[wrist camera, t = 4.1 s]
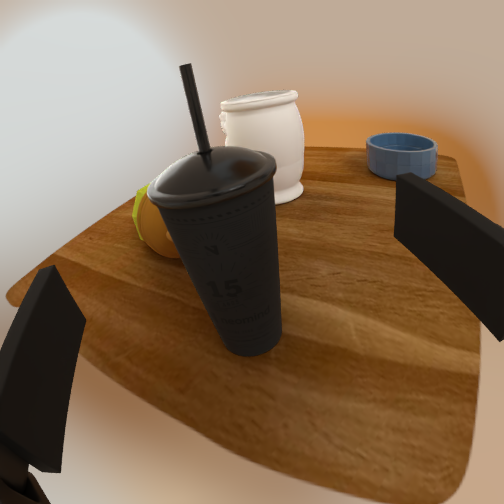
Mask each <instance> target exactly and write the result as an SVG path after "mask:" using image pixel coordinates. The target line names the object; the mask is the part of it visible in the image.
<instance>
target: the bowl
mask: <svg viewBox="0 0 504 504" xmlns="http://www.w3.org/2000/svg"><path fill="white" fill-rule="evenodd" d="M366 149H367V166H368V168H369V169H370V170H371V171H372V172H373V173H374V174H376V175H378V176H380V177H383V178H386V179H390V180H395V181H396V175H399V174H404V173H410V172H412V173H414V174H415V175H417V176H419V177H421V178H423V179H424V180H425V179H428V178H430V177H431V176H432V175H434V174H435V173H436V171H437V155H438V153H437V152H438V145H437V143H436V142H435V141H434V140H432V139H430V138H427V137H424V136H420V135H415V134H409V133H382V134H377V135H373V136H370V137H369V138H367V140H366Z"/></svg>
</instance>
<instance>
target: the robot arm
mask: <svg viewBox="0 0 504 504" xmlns="http://www.w3.org/2000/svg"><path fill="white" fill-rule="evenodd" d="M394 237H395V238H396V239H397V240H398V241H400V242H401V243H402V244H403V245H404V246H405V247H406V248H407V249H408V250H410V251H411V252H412V253H413V254H414V255H415V256H416V257H417V258H418V259H419V260H420V261H421V262H423V263H424V264H425V265H426V266H427V267H428V268H429V269H430V270H431V271H432V272H433V273H434V274H435V275H436V276H437V277H438V278H439V279H440V280H441V281H442V282H443V283H444V284H445V285H446V286H447V287H448V288H449V289H450V290H451V291H452V292H453V293H454V294H455V295H456V296H457V297H458V298H459V299H460V300H461V301H462V302H463V303H464V304H465V305H466V306H467V307H468V308H469V309H470V310H471V311H472V312H473V313H474V314H475V315H476V317H477V318H478V319H479V320H480V321H481V322H482V323H483V324H484V325H485V326H486V327H487V328H488V330H489V331H490V332H491V333H492V334H493V335H494V336H495V337H496V338H497V340H498V341H499V342H501V341H502V340H504V228H502V227H501V226H499V225H498V224H495V223H493V222H492V221H491V220H489V219H488V218H486V217H485V216H483V215H482V214H480V213H478V212H477V211H476V210H474V209H472V208H471V207H469V206H468V205H466V204H465V203H463V202H462V201H460V200H458V199H457V198H455V197H453V196H452V195H450V194H448V193H447V192H445V191H443V190H442V189H440V188H438V187H437V186H435V185H433V184H431V183H430V182H428V181H426V180H424V179H423V178H421V177H419V176H417V175H415V174H414V173H412V172H410V173H404V174H399V175H396V205H395V225H394ZM85 323H86V318H85V317H84V315H83V314H82V312H81V310H80V309H79V307H78V305H77V304H76V302H75V300H74V299H73V297H72V295H71V294H70V292H69V290H68V288H67V287H66V285H65V283H64V281H63V280H62V278H61V276H60V274H59V272H58V270H57V269H56V267H55V265H52V266H49V267H46V268H43V269H40V270H39V271H38V273H37V274H36V276H35V278H34V280H33V282H32V284H31V286H30V288H29V289H28V291H27V293H26V295H25V297H24V299H23V301H22V303H21V305H20V307H19V309H18V312H17V314H16V316H15V318H14V320H13V322H12V325H11V327H10V329H9V331H8V333H7V336H6V338H5V340H4V343H3V345H2V347H1V350H0V504H51V503H50V502H49V500H48V499H47V497H46V495H45V494H44V492H43V490H42V489H41V487H40V485H39V483H38V482H37V480H36V478H35V477H34V476H33V474H32V473H30V472H28V467H29V464H30V465H32V466H33V467H35V468H36V469H38V470H40V471H41V472H48V473H61V465H62V453H63V443H64V435H65V427H66V419H67V412H68V406H69V400H70V394H71V388H72V382H73V377H74V372H75V367H76V362H77V357H78V353H79V348H80V344H81V340H82V336H83V331H84V327H85Z"/></svg>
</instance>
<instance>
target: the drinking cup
mask: <svg viewBox="0 0 504 504" xmlns="http://www.w3.org/2000/svg"><path fill="white" fill-rule="evenodd" d="M179 70H180V74H181V78H182V83H183V87H184V91H185V95H186V100H187V104H188V108H189V113H190V117H191V121H192V125H193V129H194V133H195V137H196V141H197V146H198V150H199V151H196V152H193V153H191V154H189V155H186V156H184V157H182V158H181V159H179V160H177V161H176V162H174V163H173V164H172V165H171V166H169V167H168V168H167V169H166V170H165V171H164V172H163V173H162V174H160V175H159V176H158V177H157V178H155V179H154V180H153V181H152V182H151V183H150V185H149V186H148V188H147V195H148V198H149V200H150V202H151V203H152V204H153V205H155V206H157V208H158V210H159V212H160V214H161V217H162V219H163V221H164V223H165V225H166V228H167V230H168V232H169V234H170V236H171V238H172V241H173V243H174V245H175V247H176V249H177V251H178V253H179V255H180V257H181V260H182V262H183V264H184V266H185V268H186V270H187V272H188V274H189V276H190V278H191V280H192V282H193V284H194V286H195V288H196V290H197V292H198V294H199V296H200V298H201V300H202V302H203V304H204V306H205V308H206V310H207V312H208V314H209V316H210V318H211V320H212V322H213V324H214V326H215V327H216V329H217V331H218V333H219V335H220V337H221V339H222V341H223V343H224V344H225V346H226V347H227V349H228V350H230V351H231V352H233V353H234V354H237V355H240V356H256V355H260V354H263V353H265V352H267V351H269V350H270V349H272V348H273V347H274V346H275V345H276V344H277V343H278V341H279V339H280V337H281V334H282V321H281V299H280V279H279V260H278V243H277V226H276V210H275V195H274V181H273V176H274V175H275V173H276V170H277V164H276V160H275V158H274V157H273V156H272V155H270V154H268V153H265V152H261V151H255V150H251V149H248V148H243V147H237V146H218V147H211V148H210V144H209V140H208V136H207V131H206V127H205V122H204V118H203V114H202V109H201V105H200V101H199V96H198V92H197V87H196V83H195V79H194V74H193V70H192V65H191V63H190V64H185V65H181V66H179Z"/></svg>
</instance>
